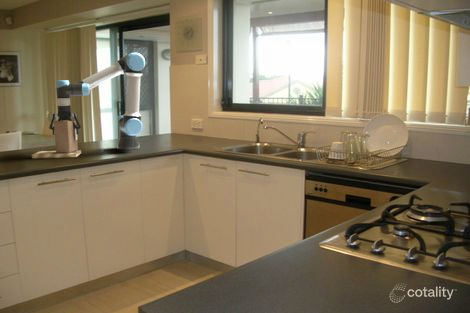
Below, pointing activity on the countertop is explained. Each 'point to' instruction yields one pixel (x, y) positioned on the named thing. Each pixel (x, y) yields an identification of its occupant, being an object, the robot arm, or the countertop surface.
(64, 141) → the block
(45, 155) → the board
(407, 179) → the countertop surface
